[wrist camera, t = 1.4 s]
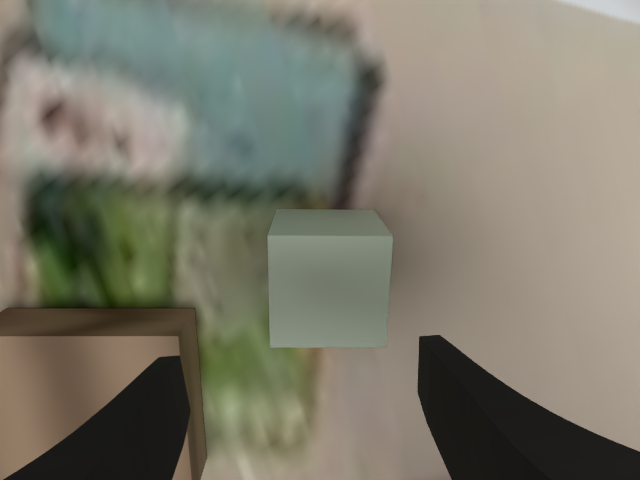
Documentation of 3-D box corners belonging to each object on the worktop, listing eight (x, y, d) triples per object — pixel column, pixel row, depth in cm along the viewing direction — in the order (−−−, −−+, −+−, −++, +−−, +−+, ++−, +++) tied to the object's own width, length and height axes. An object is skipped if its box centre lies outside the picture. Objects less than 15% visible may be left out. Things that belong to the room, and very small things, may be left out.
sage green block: (374, 209, 21) (393, 236, 17) (369, 299, 23) (385, 347, 18) (276, 208, 21) (267, 235, 16) (277, 298, 23) (270, 347, 18)
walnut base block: (194, 308, 23) (178, 336, 20) (206, 458, 25) (193, 501, 23) (6, 308, 22) (-38, 336, 19) (39, 459, 25) (4, 504, 22)
